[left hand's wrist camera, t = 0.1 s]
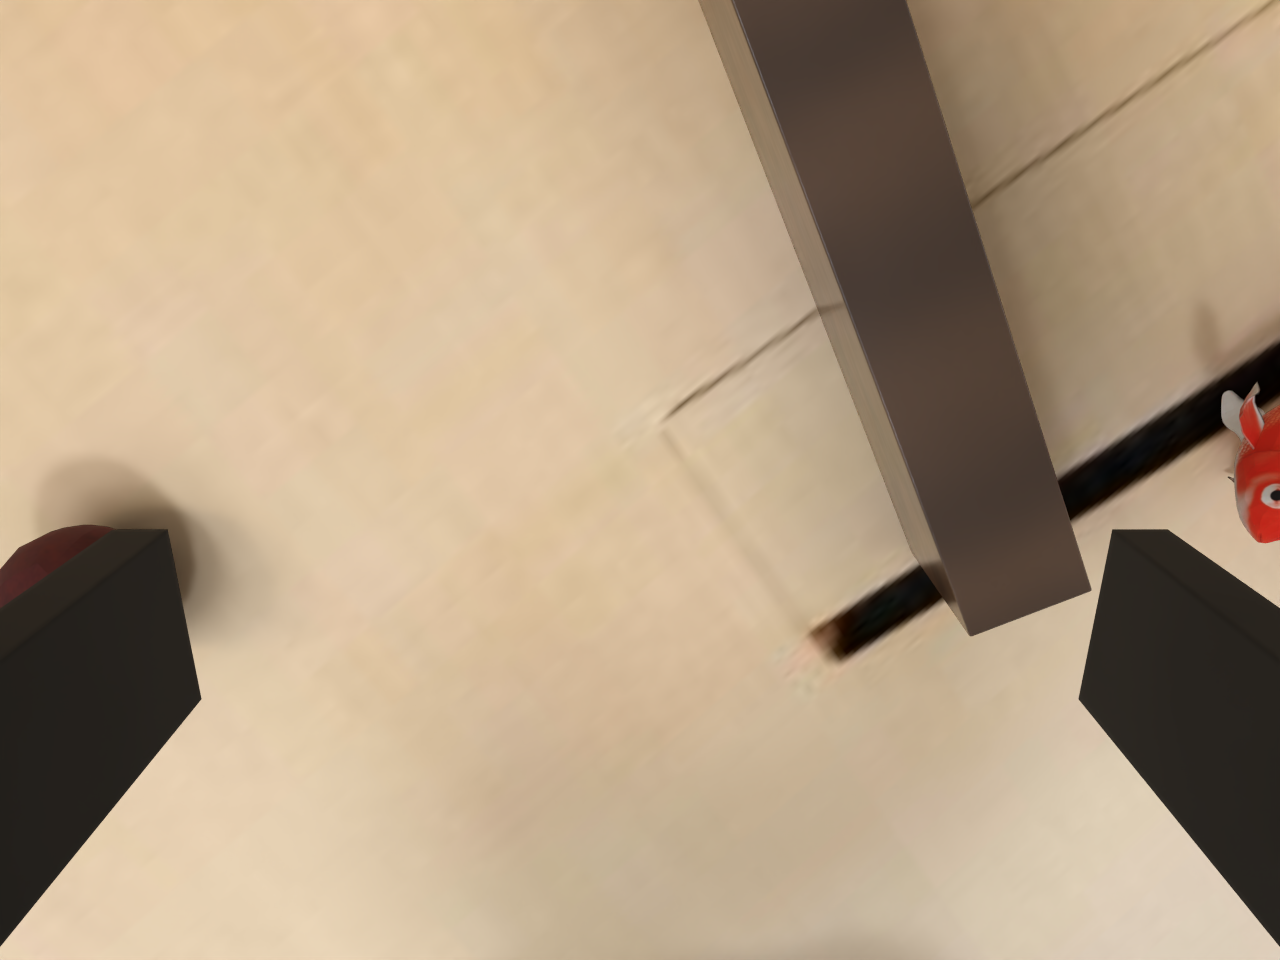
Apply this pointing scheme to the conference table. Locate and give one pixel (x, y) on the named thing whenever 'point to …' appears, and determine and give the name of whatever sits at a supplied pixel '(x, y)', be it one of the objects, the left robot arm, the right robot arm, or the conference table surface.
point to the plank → (904, 293)
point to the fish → (1255, 464)
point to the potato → (44, 557)
